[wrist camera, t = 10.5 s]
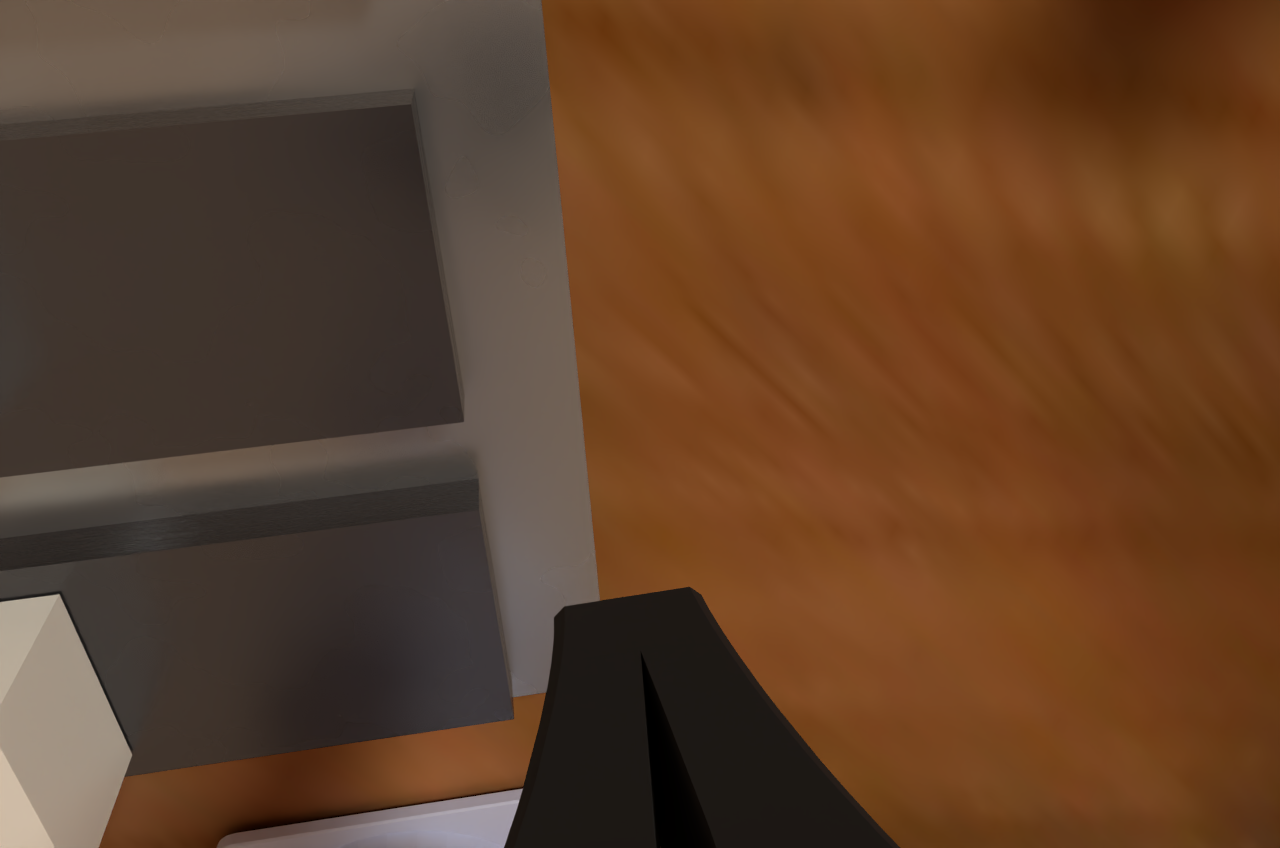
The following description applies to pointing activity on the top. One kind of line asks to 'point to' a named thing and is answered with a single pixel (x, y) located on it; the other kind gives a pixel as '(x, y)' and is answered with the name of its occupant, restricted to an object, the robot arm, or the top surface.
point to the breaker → (53, 733)
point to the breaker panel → (288, 363)
